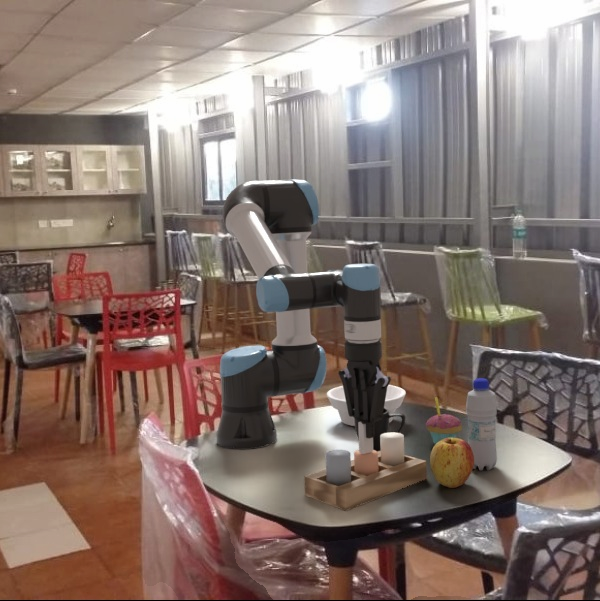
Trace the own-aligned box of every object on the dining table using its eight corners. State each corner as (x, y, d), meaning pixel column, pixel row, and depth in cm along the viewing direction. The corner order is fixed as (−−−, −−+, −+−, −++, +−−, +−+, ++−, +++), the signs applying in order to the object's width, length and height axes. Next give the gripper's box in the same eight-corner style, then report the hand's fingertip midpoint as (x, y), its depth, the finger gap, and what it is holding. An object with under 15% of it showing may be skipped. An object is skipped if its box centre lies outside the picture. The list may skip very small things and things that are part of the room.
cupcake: (422, 447, 197) (421, 398, 195) (430, 436, 205) (430, 389, 203) (458, 450, 194) (457, 400, 192) (465, 439, 201) (464, 391, 200)
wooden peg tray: (304, 495, 168) (304, 476, 168) (385, 466, 184) (384, 449, 183) (346, 510, 159) (345, 490, 159) (426, 479, 175) (426, 460, 174)
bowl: (318, 416, 228) (317, 387, 227) (390, 408, 233) (389, 380, 231) (340, 437, 207) (339, 405, 206) (418, 428, 212) (418, 397, 211)
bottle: (480, 474, 177) (479, 383, 174) (460, 465, 183) (459, 377, 180) (504, 468, 180) (503, 379, 177) (484, 460, 186) (483, 373, 183)
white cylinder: (376, 463, 177) (375, 436, 176) (391, 457, 180) (391, 431, 179) (393, 468, 173) (392, 440, 172) (409, 462, 176) (408, 435, 175)
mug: (402, 456, 190) (401, 416, 189) (351, 453, 194) (350, 414, 192) (408, 445, 198) (407, 407, 197) (359, 443, 202) (358, 405, 200)
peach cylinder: (349, 480, 172) (349, 453, 171) (366, 474, 175) (365, 447, 174) (367, 486, 168) (366, 458, 167) (383, 480, 171) (383, 452, 171)
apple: (481, 490, 168) (481, 442, 166) (439, 494, 166) (439, 446, 165) (463, 475, 177) (463, 430, 175) (423, 480, 175) (422, 434, 173)
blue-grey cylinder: (321, 482, 166) (320, 453, 166) (339, 476, 170) (338, 447, 169) (338, 488, 163) (337, 459, 162) (356, 481, 166) (355, 453, 165)
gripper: (327, 339, 170) (331, 449, 173) (373, 346, 160) (376, 463, 163) (353, 334, 175) (356, 441, 178) (399, 340, 165) (401, 454, 168)
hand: (366, 451), depth 171 cm, fingers closed
